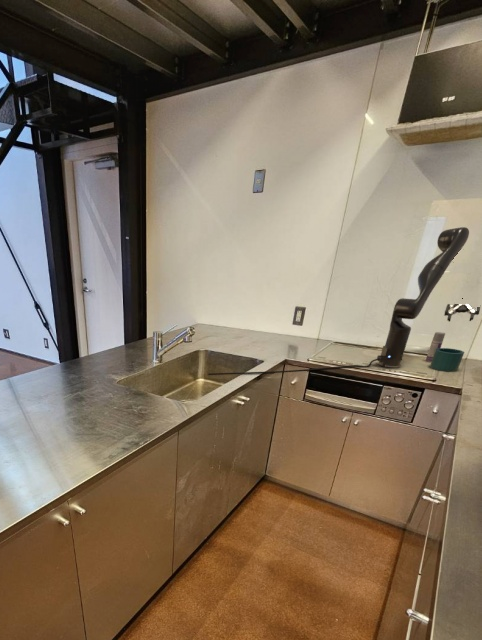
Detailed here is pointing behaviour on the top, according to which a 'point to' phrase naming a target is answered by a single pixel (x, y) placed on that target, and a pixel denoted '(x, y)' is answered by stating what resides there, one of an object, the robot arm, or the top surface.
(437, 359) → the teal pen cup
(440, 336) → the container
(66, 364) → the top surface
